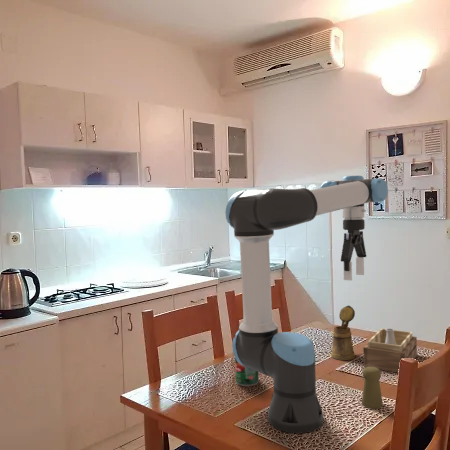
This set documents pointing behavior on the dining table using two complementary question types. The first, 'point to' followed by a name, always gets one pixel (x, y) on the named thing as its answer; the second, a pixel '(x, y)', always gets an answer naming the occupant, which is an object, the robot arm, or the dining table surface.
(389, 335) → the flask
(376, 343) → the pine crate
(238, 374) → the canned tomato
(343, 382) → the dining table surface
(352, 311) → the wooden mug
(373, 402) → the cork
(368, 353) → the wooden drawer box
